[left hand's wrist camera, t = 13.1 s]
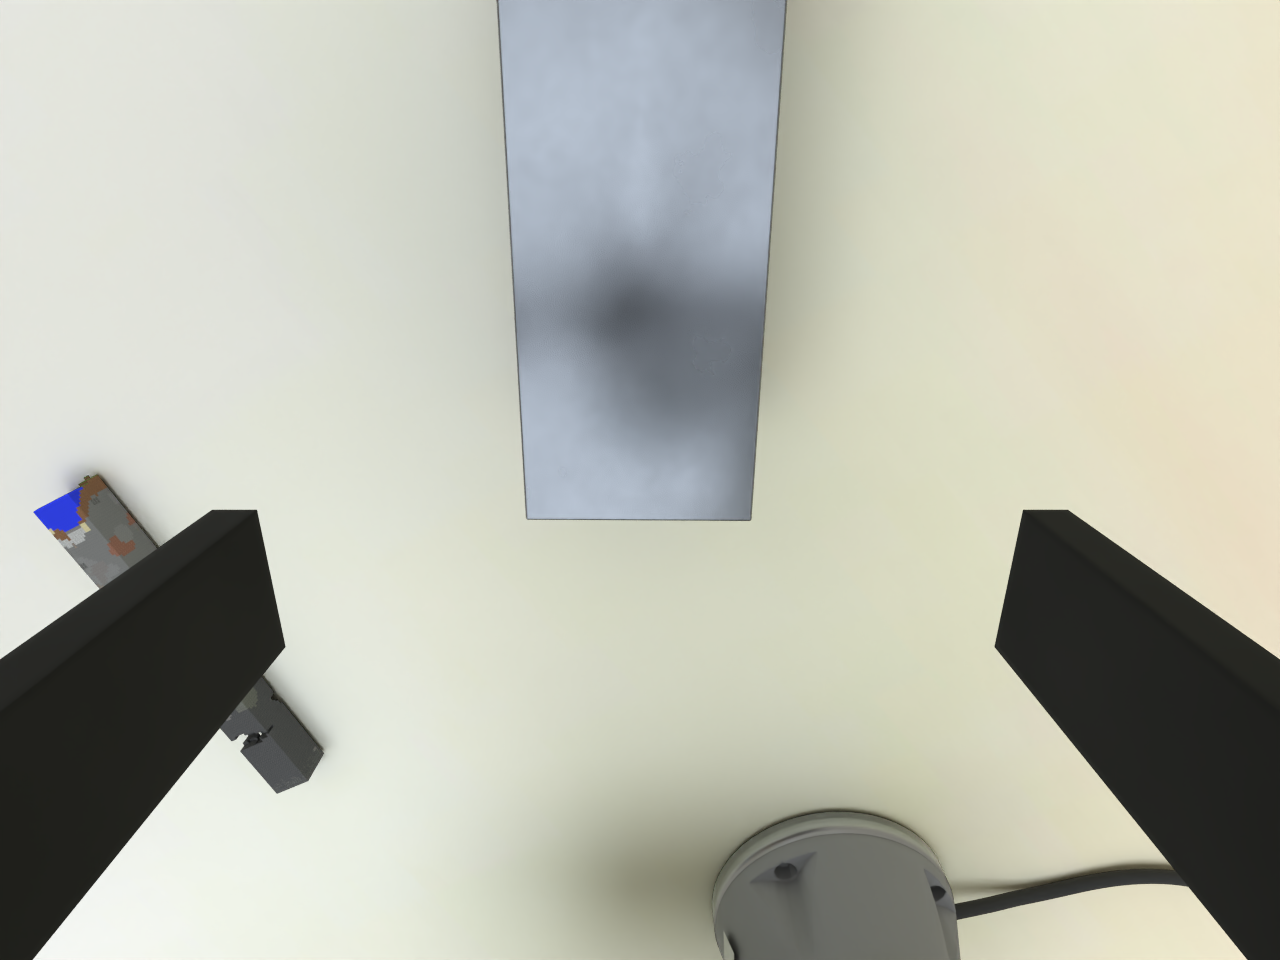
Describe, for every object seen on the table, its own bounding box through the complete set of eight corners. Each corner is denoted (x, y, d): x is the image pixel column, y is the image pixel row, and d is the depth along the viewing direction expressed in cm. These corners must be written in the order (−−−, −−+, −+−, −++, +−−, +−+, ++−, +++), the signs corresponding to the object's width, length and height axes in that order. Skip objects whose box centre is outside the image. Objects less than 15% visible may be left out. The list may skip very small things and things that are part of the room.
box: (717, 424, 35) (751, 521, 25) (560, 423, 35) (525, 520, 25) (749, -236, 26) (824, -540, 15) (536, -238, 26) (465, -543, 15)
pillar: (276, 793, 41) (28, 506, 34) (294, 766, 43) (62, 489, 36) (308, 781, 41) (62, 487, 34) (323, 753, 43) (94, 471, 36)
